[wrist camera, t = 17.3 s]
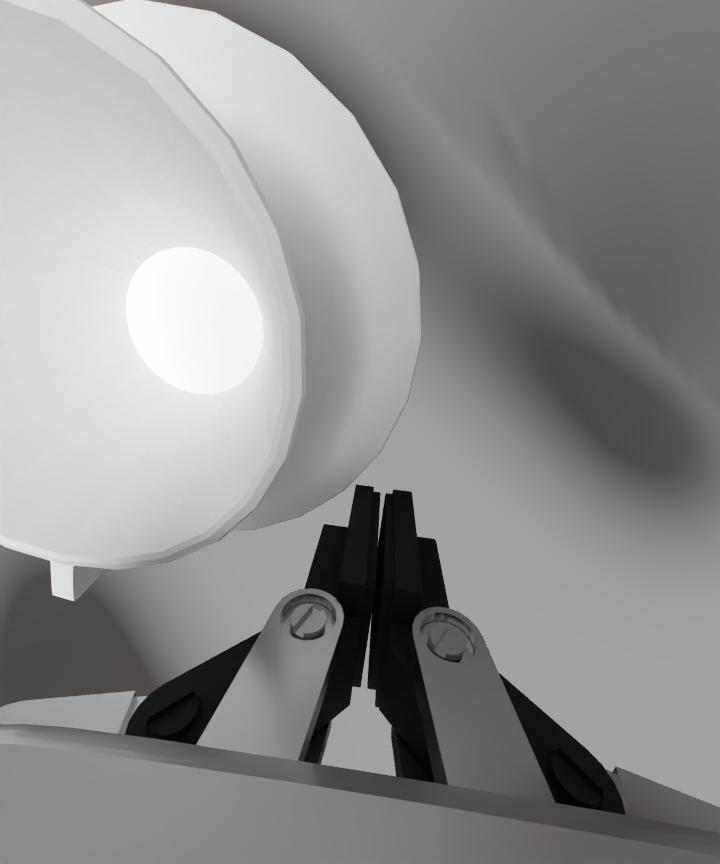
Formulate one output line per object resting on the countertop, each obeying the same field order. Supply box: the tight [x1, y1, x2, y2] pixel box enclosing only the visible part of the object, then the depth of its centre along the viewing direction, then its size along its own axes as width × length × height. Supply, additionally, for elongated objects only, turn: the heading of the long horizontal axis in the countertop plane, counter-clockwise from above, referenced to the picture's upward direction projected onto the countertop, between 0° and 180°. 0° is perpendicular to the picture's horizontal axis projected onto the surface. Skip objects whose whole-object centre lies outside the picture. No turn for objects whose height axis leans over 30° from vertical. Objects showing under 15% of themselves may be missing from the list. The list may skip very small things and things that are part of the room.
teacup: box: [0, 0, 422, 601], centre depth 8 cm, size 12×12×5 cm
